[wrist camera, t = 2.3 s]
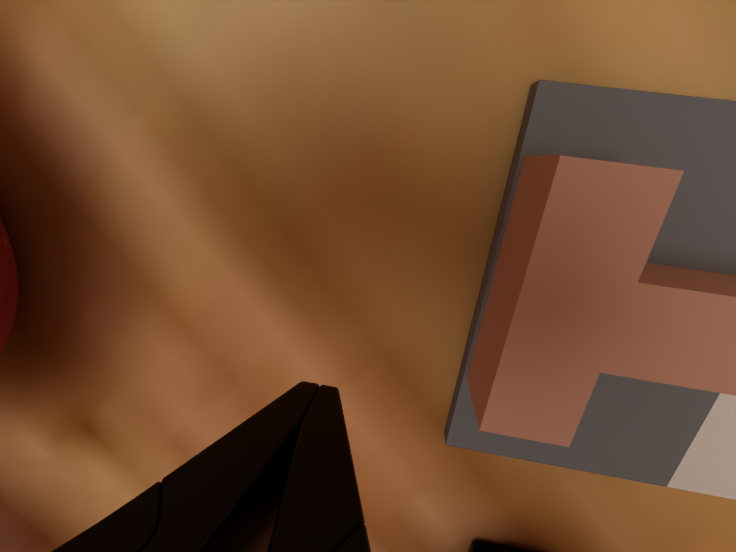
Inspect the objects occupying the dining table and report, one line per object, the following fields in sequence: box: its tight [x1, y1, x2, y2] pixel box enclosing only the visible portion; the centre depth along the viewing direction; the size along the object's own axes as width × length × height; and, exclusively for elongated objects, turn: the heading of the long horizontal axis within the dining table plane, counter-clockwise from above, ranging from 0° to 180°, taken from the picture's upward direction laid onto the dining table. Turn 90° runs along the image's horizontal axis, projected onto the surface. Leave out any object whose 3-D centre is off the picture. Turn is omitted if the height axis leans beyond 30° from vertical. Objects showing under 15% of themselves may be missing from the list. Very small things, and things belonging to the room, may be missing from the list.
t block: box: [467, 155, 736, 447], centre depth 15 cm, size 12×12×4 cm
